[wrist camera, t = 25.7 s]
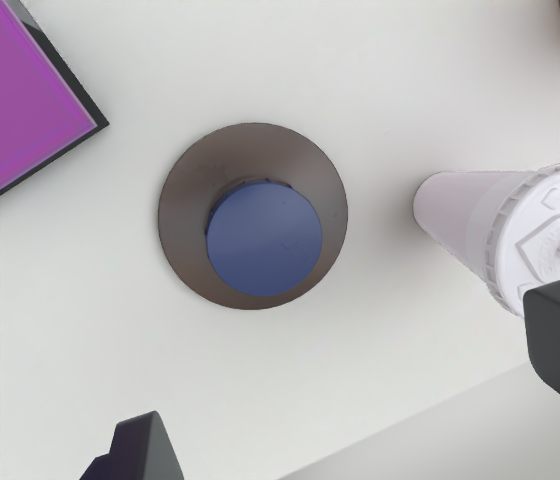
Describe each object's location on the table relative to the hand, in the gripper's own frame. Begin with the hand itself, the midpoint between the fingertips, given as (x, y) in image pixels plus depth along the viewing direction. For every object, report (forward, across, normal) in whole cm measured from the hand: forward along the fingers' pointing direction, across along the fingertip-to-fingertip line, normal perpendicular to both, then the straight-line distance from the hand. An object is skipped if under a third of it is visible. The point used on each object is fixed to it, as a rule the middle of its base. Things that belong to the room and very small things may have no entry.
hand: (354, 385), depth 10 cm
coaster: (+16, 0, 0) cm, 16 cm away
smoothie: (+16, -10, +2) cm, 20 cm away
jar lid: (+14, 0, +1) cm, 15 cm away
